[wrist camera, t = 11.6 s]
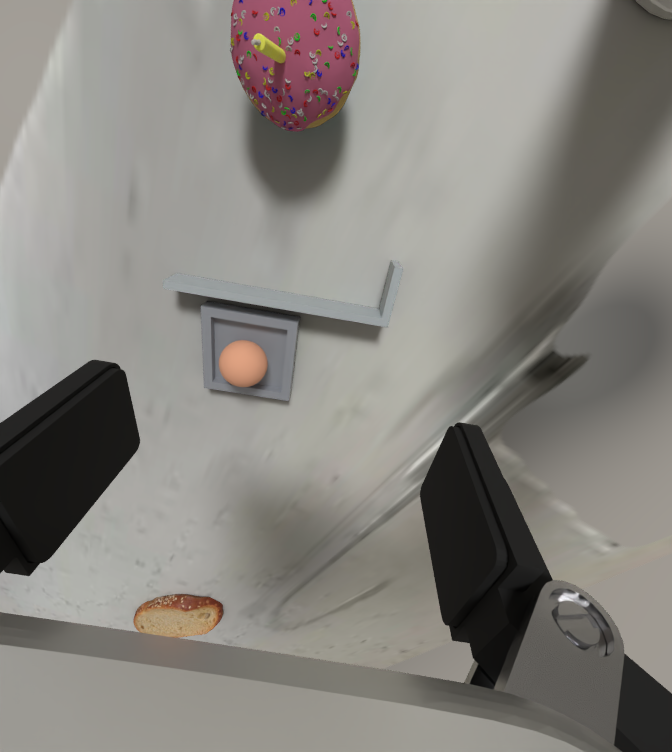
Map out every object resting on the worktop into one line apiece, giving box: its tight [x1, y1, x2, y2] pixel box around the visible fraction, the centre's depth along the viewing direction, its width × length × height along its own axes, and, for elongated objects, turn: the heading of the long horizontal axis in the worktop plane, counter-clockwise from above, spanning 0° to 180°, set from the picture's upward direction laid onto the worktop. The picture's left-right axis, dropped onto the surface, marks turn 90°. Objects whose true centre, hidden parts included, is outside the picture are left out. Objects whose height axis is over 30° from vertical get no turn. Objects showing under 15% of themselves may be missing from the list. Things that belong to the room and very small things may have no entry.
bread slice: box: [134, 594, 223, 638], centre depth 68 cm, size 18×18×4 cm
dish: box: [201, 301, 300, 401], centre depth 37 cm, size 10×10×2 cm
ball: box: [219, 340, 268, 387], centre depth 35 cm, size 5×5×5 cm
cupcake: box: [230, 0, 360, 131], centre depth 20 cm, size 9×8×12 cm
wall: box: [163, 260, 403, 327], centre depth 32 cm, size 22×6×3 cm, turn 80°
